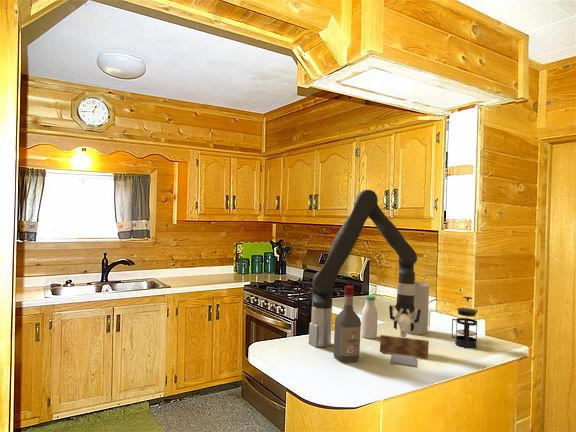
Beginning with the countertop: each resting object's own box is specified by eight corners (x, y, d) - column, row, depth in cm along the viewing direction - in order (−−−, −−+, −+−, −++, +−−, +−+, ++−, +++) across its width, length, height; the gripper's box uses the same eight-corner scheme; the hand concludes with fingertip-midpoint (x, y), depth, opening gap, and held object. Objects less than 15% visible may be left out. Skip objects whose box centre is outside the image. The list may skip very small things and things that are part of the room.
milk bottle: (376, 339, 194) (378, 298, 194) (360, 338, 195) (362, 297, 195) (376, 335, 201) (378, 295, 201) (360, 333, 203) (362, 294, 203)
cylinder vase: (424, 329, 215) (426, 282, 215) (429, 336, 203) (431, 286, 203) (400, 327, 217) (402, 281, 217) (404, 334, 205) (406, 285, 205)
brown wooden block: (379, 352, 175) (380, 336, 175) (380, 349, 180) (381, 333, 180) (428, 359, 169) (428, 342, 169) (427, 355, 174) (428, 339, 174)
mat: (390, 363, 162) (390, 362, 162) (391, 355, 172) (391, 354, 172) (416, 367, 160) (416, 365, 159) (415, 358, 169) (415, 357, 169)
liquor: (361, 361, 163) (364, 288, 163) (341, 364, 160) (344, 288, 160) (350, 354, 172) (353, 284, 172) (331, 356, 168) (334, 284, 168)
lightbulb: (393, 334, 184) (395, 310, 184) (407, 335, 184) (408, 311, 184) (398, 338, 178) (400, 314, 178) (412, 339, 178) (414, 314, 178)
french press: (477, 344, 193) (479, 296, 192) (479, 350, 184) (481, 300, 184) (451, 340, 197) (453, 293, 197) (451, 346, 188) (453, 297, 188)
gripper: (389, 292, 179) (386, 330, 179) (422, 296, 175) (420, 334, 175) (389, 289, 187) (387, 325, 187) (422, 293, 182) (420, 330, 183)
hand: (403, 329), depth 181 cm, fingers closed on lightbulb, 6 cm apart
